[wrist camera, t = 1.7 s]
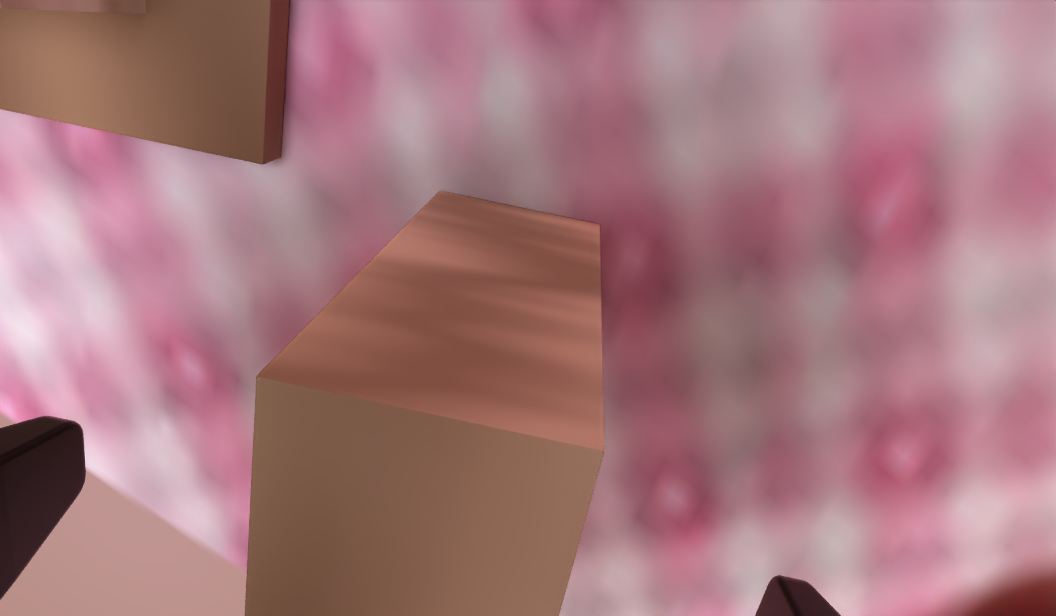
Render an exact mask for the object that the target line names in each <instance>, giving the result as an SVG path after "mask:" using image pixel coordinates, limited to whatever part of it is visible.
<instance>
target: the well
mask: <svg viewBox="0 0 1056 616" xmlns="http://www.w3.org/2000/svg"><path fill="white" fill-rule="evenodd" d="M289 1H290V0H0V109H3V110H8V111H12V112H17V113H22V114H27V115H31V116H36V117H41V118H46V119H50V120H55V121H60V122H64V123H69V124H74V125H79V126H83V127H88V128H93V129H98V130H102V131H107V132H112V133H116V134H121V135H126V136H131V137H135V138H140V139H145V140H150V141H154V142H159V143H164V144H168V145H173V146H178V147H183V148H187V149H192V150H197V151H202V152H206V153H211V154H216V155H221V156H225V157H230V158H235V159H239V160H244V161H249V162H254V163H258V164H265V163H268V162H270V161H273V160H275V159H278V158H280V157H281V144H282V126H283V108H284V90H285V72H286V55H287V37H288V19H289Z"/></svg>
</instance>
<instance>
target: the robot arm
mask: <svg viewBox="0 0 1056 616" xmlns="http://www.w3.org/2000/svg"><path fill="white" fill-rule="evenodd" d="M85 476H86V469H85V453H84V438H83V430H82V428H81V426H80V425H79V424H78V423H77V422H75V421H71V420H67V419H62V418H57V417H53V416H42V417H38V418H34V419H31V420H27V421H24V422H20V423H17V424H13V425H10V426H6V427H3V428H0V599H1V598H2V597H3V596H4V594H5V593H6V592H7V591H8V589H9V588H10V587H11V586H12V584H13V583H14V582H15V580H16V579H17V578H18V576H19V575H20V574H21V572H22V571H23V570H24V568H25V567H26V566H27V564H28V563H29V562H30V560H31V559H32V557H33V556H34V555H35V553H36V552H37V551H38V549H39V548H40V547H41V545H42V544H43V543H44V541H45V540H46V538H47V537H48V536H49V534H50V533H51V532H52V530H53V529H54V528H55V526H56V525H57V523H58V522H59V521H60V519H61V518H62V517H63V515H64V514H65V512H66V511H67V510H68V509H69V507H70V506H71V504H72V503H73V502H74V500H75V499H76V497H77V496H78V495H79V493H80V491H81V489H82V487H83V485H84V482H85ZM755 616H841V615H840V614H839V613H838V612H837V611H836V610H835V609H834V608H833V607H832V606H831V605H830V604H829V603H828V602H827V601H826V600H825V599H824V598H823V597H822V596H821V595H820V594H819V593H818V592H817V590H816V589H815V588H814V587H813V586H812V585H810V584H809V583H808V582H806V581H803V580H799V579H795V578H790V577H785V576H781V575H778V576H775V577H773V578H772V579H771V581H770V582H769V584H768V586H767V589H766V591H765V593H764V596H763V598H762V600H761V603H760V605H759V608H758V610H757V612H756V615H755Z"/></svg>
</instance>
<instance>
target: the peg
mask: <svg viewBox="0 0 1056 616" xmlns="http://www.w3.org/2000/svg"><path fill="white" fill-rule="evenodd" d="M603 454H604V414H603V364H602V313H601V262H600V224H596V223H591V222H586V221H581V220H577V219H572V218H567V217H562V216H558V215H553V214H548V213H544V212H539V211H534V210H529V209H525V208H520V207H515V206H510V205H506V204H501V203H496V202H492V201H487V200H482V199H477V198H473V197H468V196H463V195H458V194H454V193H449V192H444V191H439V192H438V193H437V194H436V195H435V196H434V197H433V198H432V199H431V200H430V201H429V202H428V203H427V204H426V205H425V206H424V207H423V208H422V209H421V210H420V211H419V212H418V213H417V214H416V215H415V216H414V218H413V219H412V220H411V221H410V222H409V223H408V224H407V225H406V226H405V227H404V228H403V229H402V230H401V231H400V232H399V233H398V234H397V235H396V236H395V237H394V238H393V239H392V240H391V241H390V242H389V243H388V244H387V245H386V246H385V247H384V248H383V249H382V250H381V251H380V252H379V253H378V254H377V255H376V256H375V257H374V258H373V259H372V260H371V261H370V262H369V263H368V264H367V265H366V266H365V267H364V268H363V269H362V270H361V271H360V272H359V273H358V274H357V275H356V276H355V277H354V278H353V279H352V280H351V281H350V282H349V283H348V284H347V285H346V286H345V287H344V288H343V289H342V290H341V291H340V292H339V293H338V294H337V295H336V296H335V297H334V298H333V299H332V300H331V301H330V302H329V303H328V304H327V305H326V306H325V307H324V309H323V310H322V311H321V312H320V313H319V314H318V315H317V316H316V317H315V318H314V319H313V320H312V321H311V322H310V323H309V324H308V325H307V326H306V327H305V328H304V329H303V330H302V331H301V332H300V333H299V334H298V335H297V336H296V337H295V338H294V339H293V340H292V341H291V342H290V343H289V344H288V345H287V346H286V347H285V348H284V349H283V350H282V351H281V352H280V353H279V354H278V355H277V356H276V357H275V358H274V359H273V360H272V361H271V362H270V363H269V364H268V365H267V366H266V367H265V368H264V369H263V370H262V371H261V372H260V373H259V374H258V375H257V377H256V397H255V418H254V438H253V459H252V479H251V499H250V520H249V540H248V561H247V581H246V601H245V602H246V603H245V616H559V613H560V609H561V606H562V602H563V599H564V595H565V591H566V588H567V584H568V580H569V577H570V573H571V570H572V566H573V562H574V559H575V555H576V552H577V548H578V544H579V541H580V537H581V533H582V530H583V526H584V523H585V519H586V515H587V512H588V508H589V504H590V501H591V497H592V494H593V490H594V486H595V483H596V479H597V476H598V472H599V468H600V465H601V461H602V457H603Z"/></svg>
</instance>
